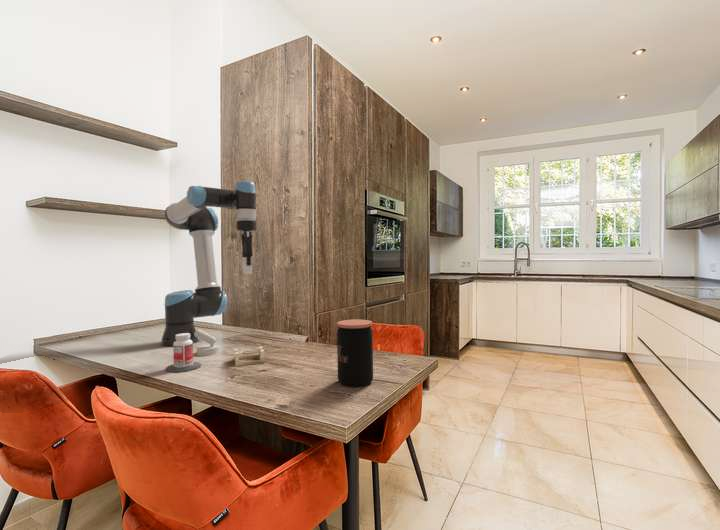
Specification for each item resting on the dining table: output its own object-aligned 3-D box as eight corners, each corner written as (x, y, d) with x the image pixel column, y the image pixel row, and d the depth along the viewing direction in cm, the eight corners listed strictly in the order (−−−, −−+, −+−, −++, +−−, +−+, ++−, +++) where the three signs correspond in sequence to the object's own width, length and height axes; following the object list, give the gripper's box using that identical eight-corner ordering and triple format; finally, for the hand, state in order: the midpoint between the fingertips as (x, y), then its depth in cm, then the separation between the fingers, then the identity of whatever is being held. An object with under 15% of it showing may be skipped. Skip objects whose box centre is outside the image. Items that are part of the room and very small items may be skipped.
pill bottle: (193, 362, 137) (192, 331, 137) (193, 366, 132) (193, 334, 132) (173, 365, 135) (173, 333, 134) (173, 369, 129) (172, 336, 129)
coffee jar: (337, 377, 120) (336, 319, 119) (371, 375, 121) (370, 318, 120) (338, 388, 109) (337, 325, 109) (375, 387, 110) (374, 324, 110)
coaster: (168, 365, 136) (168, 363, 136) (201, 362, 140) (201, 360, 140) (164, 374, 126) (163, 372, 126) (200, 370, 130) (200, 368, 130)
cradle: (234, 358, 144) (234, 348, 144) (261, 356, 147) (261, 345, 147) (235, 366, 134) (235, 354, 134) (264, 362, 138) (264, 351, 138)
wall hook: (201, 327, 159) (223, 327, 157) (202, 350, 159) (224, 350, 157) (188, 331, 151) (211, 331, 149) (189, 355, 151) (211, 356, 149)
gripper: (235, 223, 164) (236, 272, 164) (238, 217, 140) (239, 274, 141) (253, 223, 166) (254, 272, 167) (259, 217, 143) (260, 274, 143)
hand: (247, 273), depth 154 cm, fingers open, 13 cm apart
